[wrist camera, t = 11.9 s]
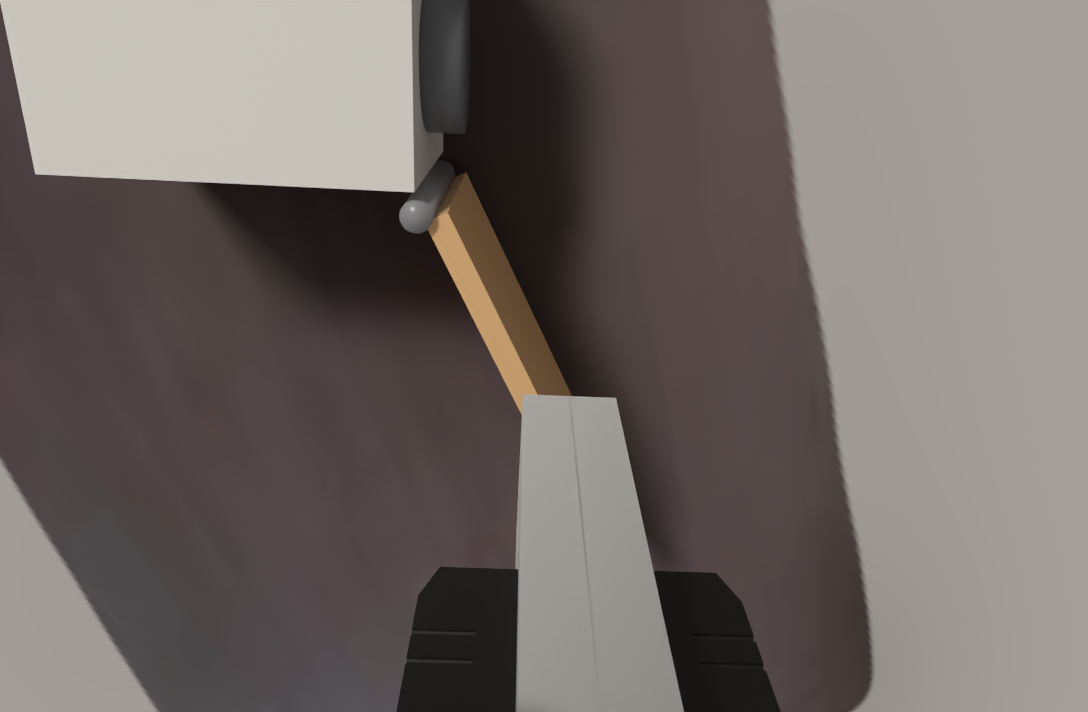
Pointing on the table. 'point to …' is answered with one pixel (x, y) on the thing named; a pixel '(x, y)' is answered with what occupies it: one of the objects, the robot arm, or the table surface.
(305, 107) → the housing
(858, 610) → the table surface
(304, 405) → the table surface
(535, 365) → the door
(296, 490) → the table surface
